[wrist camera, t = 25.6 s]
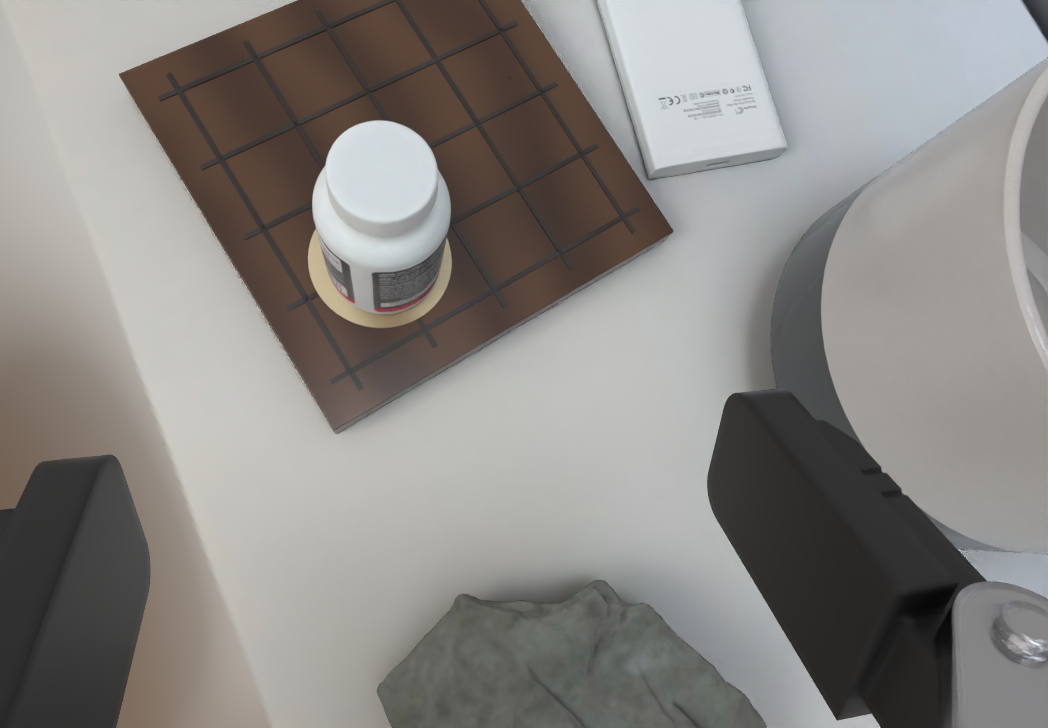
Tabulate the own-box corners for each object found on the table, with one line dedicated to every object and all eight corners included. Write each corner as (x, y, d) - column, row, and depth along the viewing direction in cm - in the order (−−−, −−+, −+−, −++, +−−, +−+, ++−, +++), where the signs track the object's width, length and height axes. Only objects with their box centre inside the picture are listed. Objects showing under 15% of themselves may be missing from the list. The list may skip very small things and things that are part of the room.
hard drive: (715, -30, 45) (776, 159, 43) (588, -17, 43) (646, 180, 41) (727, -50, 43) (791, 145, 41) (596, -38, 41) (657, 167, 39)
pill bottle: (450, 226, 37) (472, 124, 27) (426, 328, 35) (441, 259, 26) (341, 198, 36) (324, 84, 26) (313, 301, 35) (285, 220, 25)
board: (336, 434, 35) (333, 430, 34) (128, 91, 37) (117, 72, 35) (663, 241, 40) (674, 230, 39) (470, -53, 42) (473, -74, 40)
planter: (736, 529, 38) (1025, 539, 21) (746, 181, 42) (993, -50, 25) (1064, 561, 41) (1554, 594, 24) (1043, 234, 45) (1445, 60, 28)
